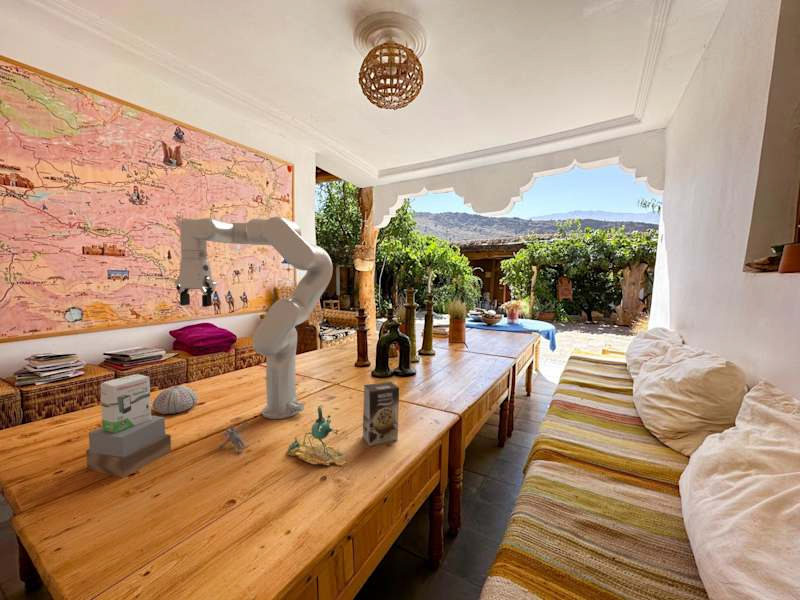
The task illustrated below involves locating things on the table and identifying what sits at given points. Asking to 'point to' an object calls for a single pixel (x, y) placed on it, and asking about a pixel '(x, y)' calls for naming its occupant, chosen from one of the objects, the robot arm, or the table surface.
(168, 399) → the sea urchin shell
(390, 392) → the coffee box
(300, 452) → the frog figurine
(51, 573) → the table surface
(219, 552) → the table surface
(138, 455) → the tower bottom
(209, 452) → the table surface
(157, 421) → the tower top
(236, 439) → the elephant figurine
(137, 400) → the ink box
